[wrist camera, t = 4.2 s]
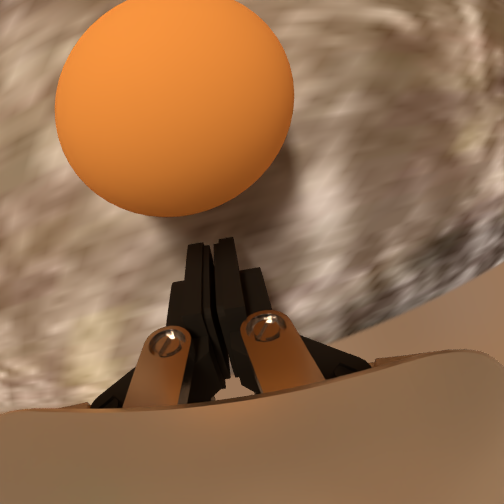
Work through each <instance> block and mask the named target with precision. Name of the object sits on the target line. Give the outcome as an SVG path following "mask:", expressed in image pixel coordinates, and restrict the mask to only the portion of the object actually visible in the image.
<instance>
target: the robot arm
mask: <svg viewBox="0 0 504 504" xmlns="http://www.w3.org/2000/svg"><path fill="white" fill-rule="evenodd" d="M228 354H229V356H228ZM229 358H230V361H231V365H232V368H233V372H234V375H235V377H239V378H240V381H241V385H243V386H245V387H246V388H248V389H250V390H252V391H254V393H255V395H250V396H244V397H237V398H231V399H224V400H217V401H215V397H214V395H215V394H216V393H217V392H218V391H219V390H220V389H225V388H226V385H225V379H229V378H230V377H231V376H230V366H229ZM0 504H504V366H503V365H502V364H500V363H499V362H498V361H497V360H496V359H495V358H493V357H491V356H490V355H489V354H486V353H484V352H481V351H476V350H467V349H459V350H458V349H457V350H456V349H455V350H442V351H434V352H427V353H419V354H412V355H405V356H396V357H387V358H377V359H375V362H372V363H367V362H366V361H365V360H363V359H361V358H359V357H357V356H354V355H351V354H348V353H345V352H343V351H340V350H338V349H335V348H332V347H330V346H327V345H324V344H322V343H319V342H316V341H314V340H311V339H309V338H306V337H304V336H301V335H299V334H298V332H297V330H296V329H295V327H294V325H293V323H292V322H291V320H290V319H289V318H288V316H287V315H285V314H283V313H282V312H279V311H275V310H272V308H271V304H270V301H269V297H268V293H267V290H266V286H265V283H264V279H263V275H262V272H261V268H260V267H258V268H252V269H247V270H241V271H239V266H238V260H237V255H236V249H235V244H234V239H233V237H229V238H224V239H219V243H218V244H214V263H213V258H212V254H211V250H210V246H209V245H207V246H204V244H203V242H202V243H196V244H191V245H188V250H187V259H186V269H185V279H184V281H178V282H173V283H172V287H171V293H170V300H169V308H168V315H167V323H166V327H163V328H160V329H158V330H156V331H154V332H153V333H152V334H151V335H150V336H149V337H148V338H147V339H146V341H145V343H144V345H143V348H142V351H141V354H140V357H139V359H138V362H137V365H136V367H135V368H133V369H132V370H131V371H130V372H128V373H127V374H126V375H125V376H123V377H122V378H121V379H120V380H118V381H117V382H116V383H115V384H113V385H112V386H111V387H110V388H108V389H107V390H106V391H105V392H103V393H102V394H101V395H100V396H98V397H97V398H96V399H95V400H94V402H93V403H92V405H90V404H89V403H88V402H85V403H81V404H76V405H72V406H67V407H62V408H32V409H20V410H14V411H9V412H6V413H3V414H0Z"/></svg>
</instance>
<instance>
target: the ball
mask: <svg viewBox="0 0 504 504" xmlns="http://www.w3.org/2000/svg"><path fill="white" fill-rule="evenodd" d="M293 106H294V86H293V77H292V73H291V68H290V64H289V62H288V59H287V56H286V54H285V51H284V49H283V47H282V46H281V44H280V42H279V40H278V39H277V37H276V36H275V34H274V33H273V32H272V30H271V29H270V28H269V27H268V25H267V24H266V23H265V22H264V21H263V20H262V19H261V18H260V17H258V16H257V15H256V14H255V13H254V12H252V11H251V10H250V9H248V8H247V7H245V6H244V5H242V4H240V3H238V2H236V1H234V0H127V1H125V2H123V3H121V4H119V5H117V6H116V7H114V8H113V9H111V10H110V11H108V12H107V13H105V14H104V15H103V16H101V17H100V18H99V19H98V20H97V21H96V22H95V23H93V24H92V25H91V26H90V27H89V28H88V30H87V31H86V32H85V33H84V34H83V35H82V36H81V38H80V39H79V40H78V42H77V43H76V45H75V46H74V48H73V49H72V51H71V53H70V55H69V57H68V59H67V61H66V63H65V65H64V67H63V70H62V73H61V75H60V78H59V82H58V87H57V92H56V100H55V121H56V128H57V133H58V138H59V141H60V144H61V147H62V150H63V152H64V154H65V156H66V158H67V160H68V162H69V164H70V165H71V167H72V168H73V170H74V171H75V173H76V174H77V175H78V176H79V178H80V179H81V180H82V181H83V182H84V183H85V184H86V185H87V186H88V187H89V188H90V189H91V190H93V191H94V192H95V193H96V194H97V195H99V196H100V197H102V198H103V199H105V200H107V201H108V202H110V203H112V204H114V205H116V206H118V207H120V208H122V209H125V210H128V211H131V212H134V213H138V214H143V215H147V216H156V217H179V216H186V215H192V214H196V213H200V212H203V211H207V210H210V209H212V208H215V207H217V206H219V205H222V204H224V203H225V202H227V201H229V200H231V199H233V198H235V197H236V196H238V195H239V194H240V193H242V192H243V191H245V190H246V189H247V188H249V187H250V186H251V185H252V184H253V183H254V182H255V181H256V180H258V179H259V178H260V177H261V176H262V174H263V173H264V172H265V171H266V170H267V169H268V167H269V166H270V165H271V163H272V162H273V160H274V159H275V157H276V156H277V154H278V153H279V151H280V149H281V147H282V145H283V143H284V141H285V139H286V136H287V133H288V130H289V127H290V123H291V118H292V114H293Z"/></svg>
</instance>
